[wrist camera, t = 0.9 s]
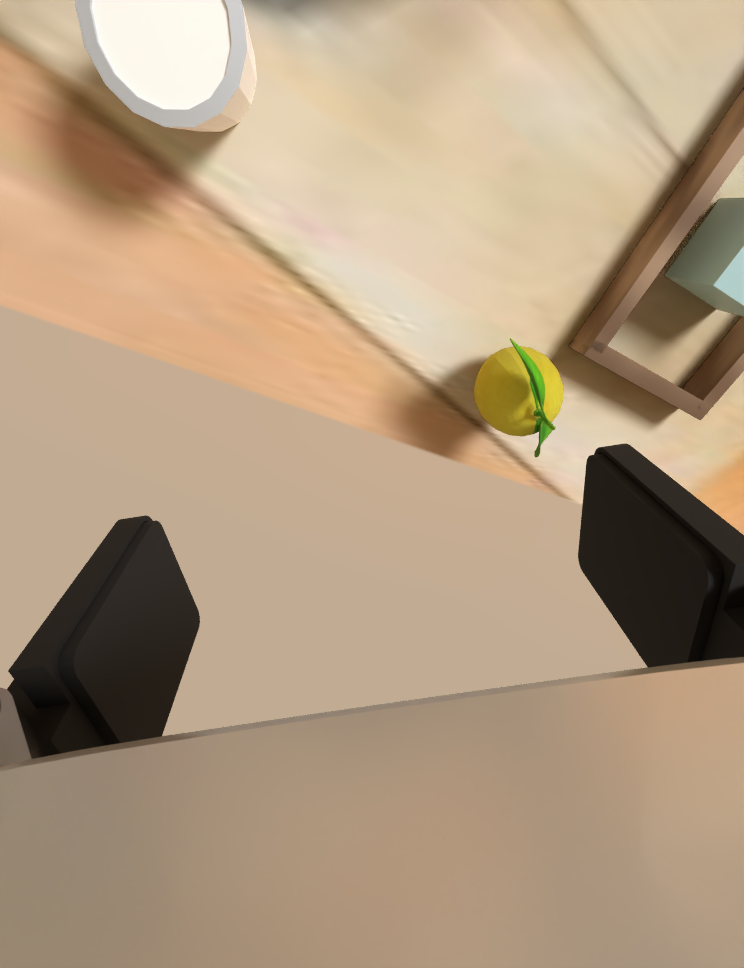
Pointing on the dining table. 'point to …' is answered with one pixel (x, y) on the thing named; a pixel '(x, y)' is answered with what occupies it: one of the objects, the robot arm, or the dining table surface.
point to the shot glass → (173, 58)
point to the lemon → (519, 392)
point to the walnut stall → (694, 192)
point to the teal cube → (715, 258)
